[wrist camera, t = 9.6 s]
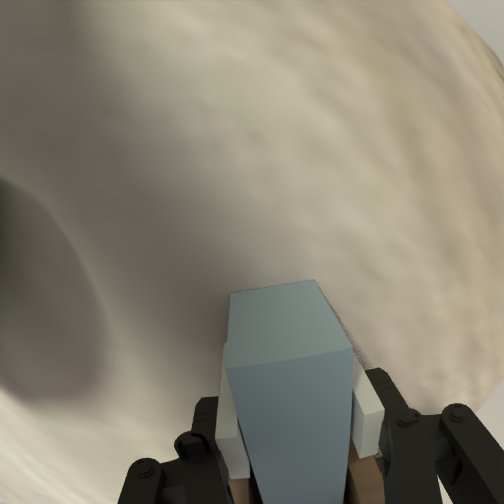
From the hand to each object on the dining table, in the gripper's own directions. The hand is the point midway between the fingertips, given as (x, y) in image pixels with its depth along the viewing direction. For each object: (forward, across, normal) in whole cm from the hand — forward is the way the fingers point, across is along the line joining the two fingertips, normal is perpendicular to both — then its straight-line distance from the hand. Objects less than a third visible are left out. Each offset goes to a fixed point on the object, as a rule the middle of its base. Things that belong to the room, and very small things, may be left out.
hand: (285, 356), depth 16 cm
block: (0, 0, -3) cm, 3 cm away
